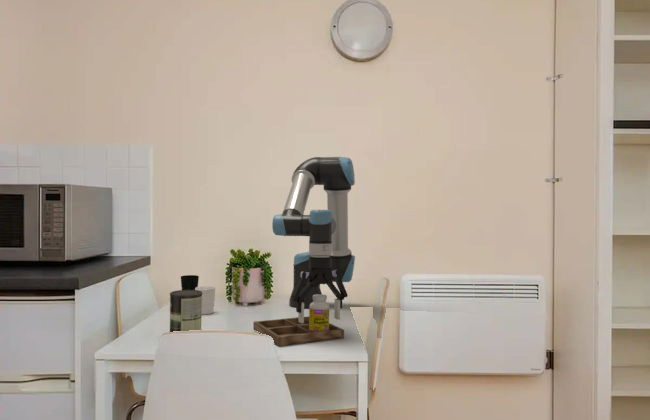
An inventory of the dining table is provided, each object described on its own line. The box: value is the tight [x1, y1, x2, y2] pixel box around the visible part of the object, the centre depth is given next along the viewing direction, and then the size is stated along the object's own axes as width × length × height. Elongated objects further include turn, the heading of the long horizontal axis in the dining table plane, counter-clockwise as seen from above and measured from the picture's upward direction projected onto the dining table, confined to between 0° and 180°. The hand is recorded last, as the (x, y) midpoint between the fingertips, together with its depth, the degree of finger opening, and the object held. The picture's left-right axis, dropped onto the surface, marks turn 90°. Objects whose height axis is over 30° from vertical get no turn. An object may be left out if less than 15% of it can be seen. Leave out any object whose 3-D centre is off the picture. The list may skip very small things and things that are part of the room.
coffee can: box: [169, 289, 203, 333], centre depth 162 cm, size 10×10×14 cm
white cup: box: [195, 285, 216, 315], centre depth 197 cm, size 8×8×10 cm
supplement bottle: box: [308, 294, 330, 333], centre depth 163 cm, size 7×7×13 cm
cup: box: [180, 274, 200, 290], centre depth 215 cm, size 8×8×12 cm
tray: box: [252, 315, 345, 348], centre depth 165 cm, size 23×23×3 cm
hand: (319, 320), depth 163 cm, fingers open, 13 cm apart
